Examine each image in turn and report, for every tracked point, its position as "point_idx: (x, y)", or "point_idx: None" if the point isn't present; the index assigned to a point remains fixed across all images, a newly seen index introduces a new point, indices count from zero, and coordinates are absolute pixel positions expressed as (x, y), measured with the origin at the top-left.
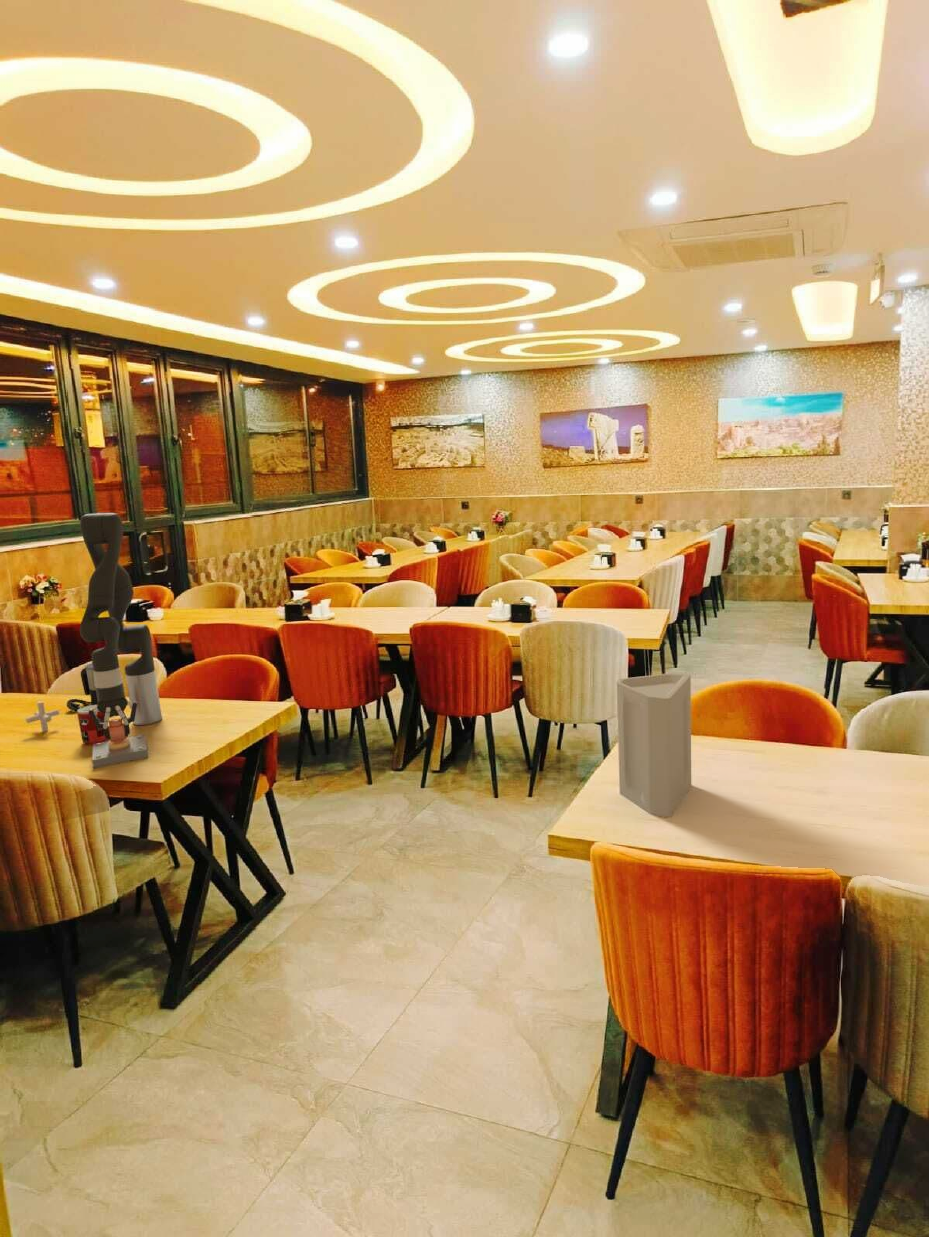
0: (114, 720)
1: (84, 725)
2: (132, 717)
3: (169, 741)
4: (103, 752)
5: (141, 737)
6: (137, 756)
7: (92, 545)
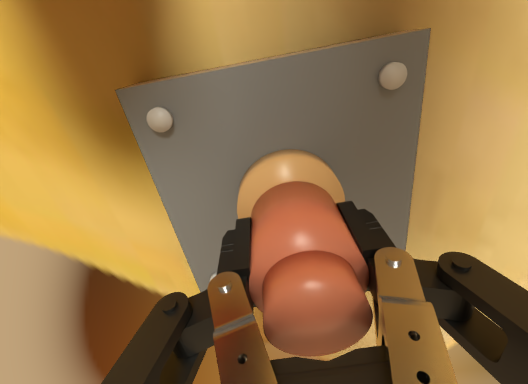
0: (310, 323)
1: None
2: (467, 334)
3: (512, 83)
4: None
5: (401, 88)
6: None
7: None
